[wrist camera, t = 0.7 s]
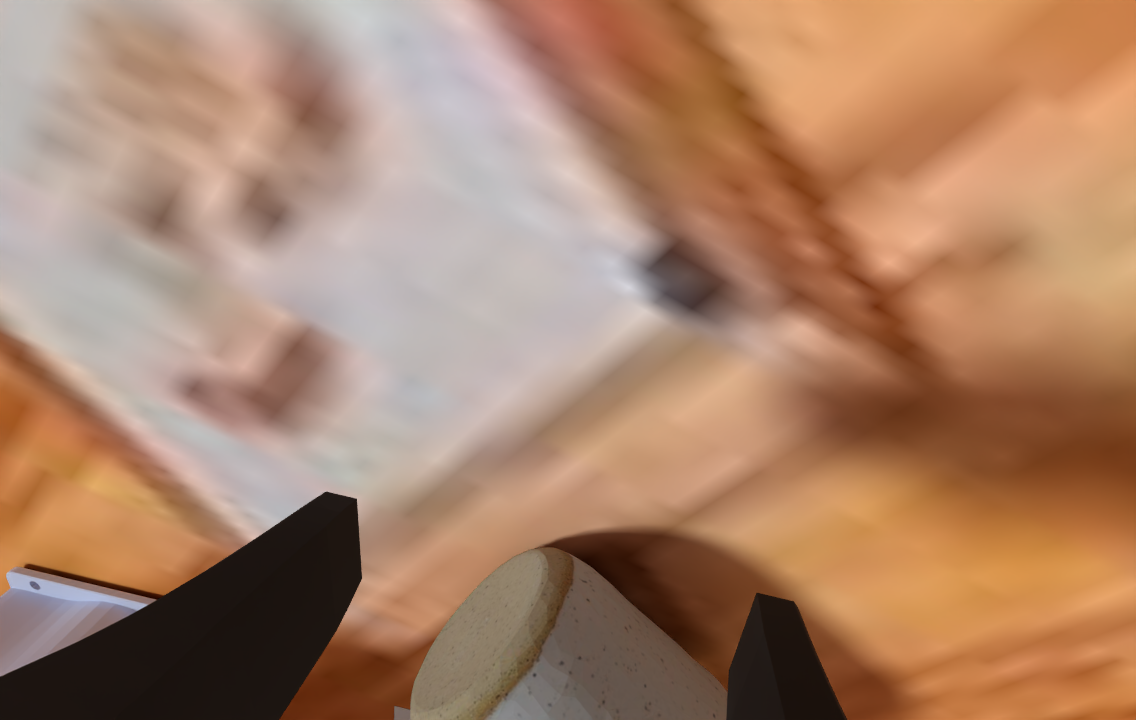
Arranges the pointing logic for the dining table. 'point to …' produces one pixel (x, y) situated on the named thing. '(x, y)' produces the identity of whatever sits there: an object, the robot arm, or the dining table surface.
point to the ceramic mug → (558, 653)
